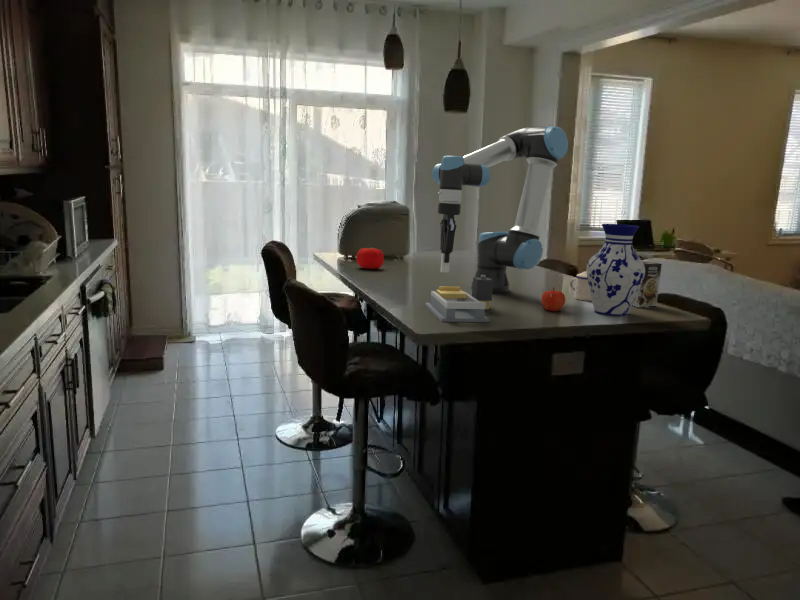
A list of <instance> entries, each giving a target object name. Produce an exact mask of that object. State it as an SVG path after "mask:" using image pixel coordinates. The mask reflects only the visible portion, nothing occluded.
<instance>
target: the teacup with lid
mask: <svg viewBox="0 0 800 600" xmlns="http://www.w3.org/2000/svg"><path fill="white" fill-rule="evenodd" d="M574 281H575V288H574V286H573V285H574V284H573V282H574ZM569 287H570V290H572V291H573V292H574V299H576V300H578V299H579V301H583V300H584V301H585V302H592V298H591V293H590V289H589V284H588V278H587V269H586V270H585V271H582V272H580V273H577V274H576V276H575V277H574V278H571V279H570V281H569Z"/></svg>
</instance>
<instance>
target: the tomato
mask: <svg viewBox="0 0 800 600" xmlns="http://www.w3.org/2000/svg"><path fill="white" fill-rule="evenodd" d="M384 260H385V258H384V252H383V251H382V250H381V249H380V248H379V249H378V248H374V246H373V247H371V246H370V247H361V248H360V249H359V250H358V251H357V253H356V262H357V264H358V265H359V267H361V268H362V269H366V270H377V269H380V268H381V267H382V266H383V265H384V262H385V261H384Z"/></svg>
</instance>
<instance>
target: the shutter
mask: <svg viewBox="0 0 800 600" xmlns="http://www.w3.org/2000/svg"><path fill="white" fill-rule="evenodd" d="M435 292H436V293H438V294H439V295H440V296H441V297H442V298H444V299H457V298H466V296H467V294H466V293H467V292H466V291H463V290H462V289H461V286H450V285H449V286H448V285H447V286H446V285H445V286H438V289H436V291H435ZM465 292H466V293H465Z"/></svg>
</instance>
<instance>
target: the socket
mask: <svg viewBox="0 0 800 600" xmlns="http://www.w3.org/2000/svg"><path fill="white" fill-rule="evenodd" d="M464 292H465V293H466V294H467V296H466V298H456V299H455V300H453V299H451V300H449V299H448V300H447V299H446V298H442V297H441V296H440V295H439V294H438V293H436V291H435V290H431V291H430V298H429V302H425V303H424V306H425V307H426V308H427V310H429V311H430V312H431V313H432V314H433V315H434V316H435V317H436V319H438V320H439V321H440V322H442V323H443V322H444V323H446V322H447V323H448V322H450V323H451V322H453V323H490V318H489V317H487V316H486V315H485V314H486V313H485V311H486V309H485V306H486V303H485V302H480V301H478V300H477V299H475V298H474V297H472V294H471V295H470V294H469V293H468V292H466V291H464Z"/></svg>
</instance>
